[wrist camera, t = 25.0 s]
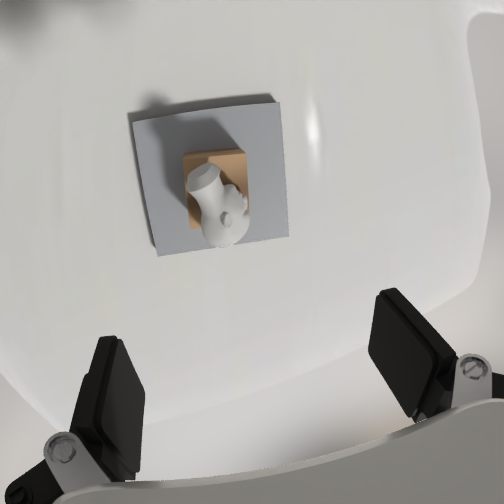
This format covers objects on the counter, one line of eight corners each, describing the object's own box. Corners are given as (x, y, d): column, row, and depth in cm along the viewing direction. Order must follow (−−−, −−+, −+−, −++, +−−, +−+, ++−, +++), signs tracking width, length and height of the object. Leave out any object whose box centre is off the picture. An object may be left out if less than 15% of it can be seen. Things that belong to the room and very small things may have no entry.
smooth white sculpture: (247, 225, 34) (203, 246, 32) (224, 152, 30) (175, 172, 29) (267, 236, 30) (218, 261, 29) (243, 154, 26) (187, 177, 25)
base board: (134, 121, 32) (132, 122, 31) (276, 102, 34) (279, 102, 32) (158, 251, 39) (157, 256, 38) (285, 231, 41) (288, 236, 39)
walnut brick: (184, 152, 33) (182, 159, 29) (239, 147, 34) (246, 153, 29) (191, 213, 36) (190, 229, 32) (243, 208, 37) (250, 222, 32)
